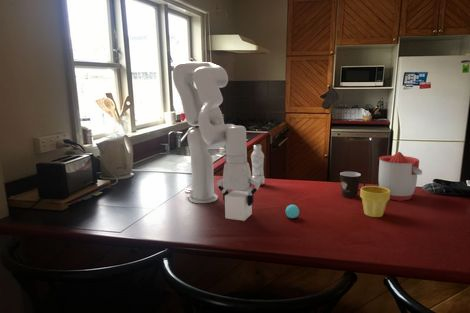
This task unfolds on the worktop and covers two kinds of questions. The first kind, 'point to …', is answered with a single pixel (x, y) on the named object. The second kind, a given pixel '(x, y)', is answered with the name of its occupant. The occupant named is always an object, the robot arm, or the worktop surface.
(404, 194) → the citrus juicer
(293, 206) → the ball
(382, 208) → the plant pot
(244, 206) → the pale grey cube
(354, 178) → the coffee mug
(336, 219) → the worktop surface
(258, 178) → the plastic bottle
